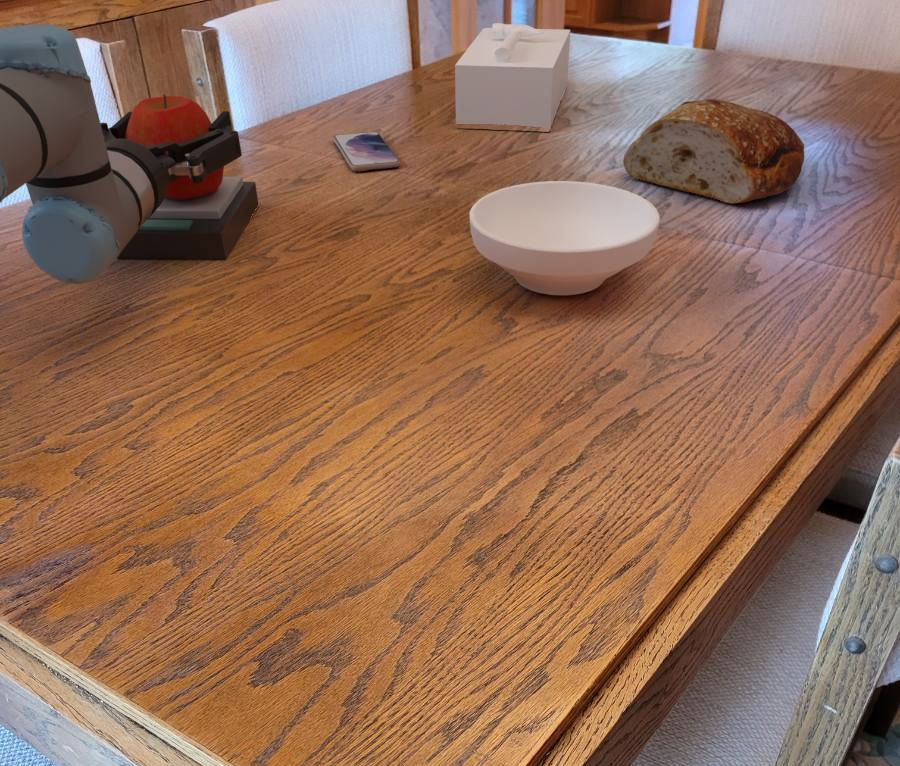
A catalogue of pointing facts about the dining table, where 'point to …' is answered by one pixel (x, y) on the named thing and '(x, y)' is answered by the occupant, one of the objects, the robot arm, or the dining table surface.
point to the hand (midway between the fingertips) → (181, 123)
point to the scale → (196, 225)
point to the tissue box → (512, 76)
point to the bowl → (563, 233)
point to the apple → (173, 136)
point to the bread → (718, 152)
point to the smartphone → (366, 151)
